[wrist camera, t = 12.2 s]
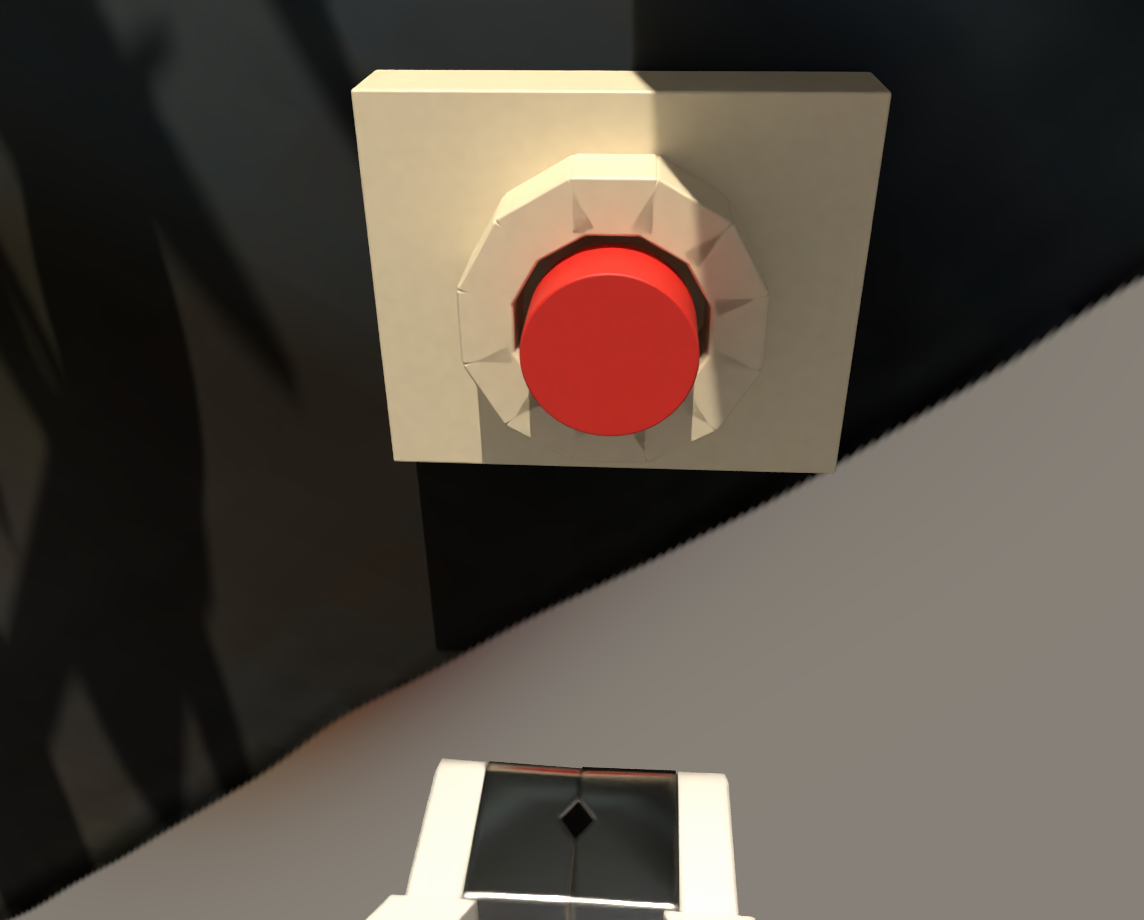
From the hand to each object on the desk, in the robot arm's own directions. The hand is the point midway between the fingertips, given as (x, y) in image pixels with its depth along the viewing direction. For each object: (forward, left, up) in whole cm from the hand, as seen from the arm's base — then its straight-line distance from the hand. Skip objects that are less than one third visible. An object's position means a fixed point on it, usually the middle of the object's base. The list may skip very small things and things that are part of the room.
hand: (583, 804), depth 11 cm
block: (0, 0, -16) cm, 16 cm away
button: (0, 0, -13) cm, 13 cm away
